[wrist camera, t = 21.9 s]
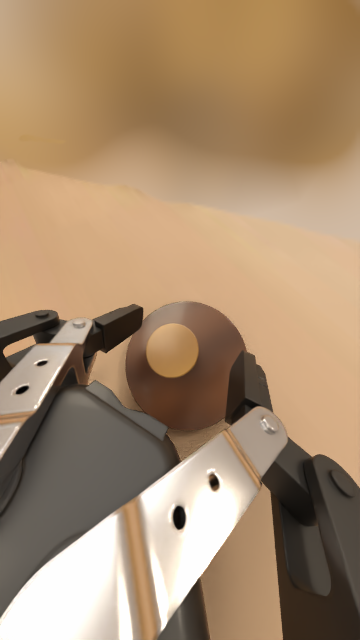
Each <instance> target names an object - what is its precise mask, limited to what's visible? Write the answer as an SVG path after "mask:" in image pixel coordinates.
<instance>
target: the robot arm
mask: <svg viewBox="0 0 360 640" xmlns="http://www.w3.org/2000/svg"><path fill="white" fill-rule="evenodd" d="M142 320H143V308H142V307H140V306H138V305H135V304H132V305H130V306H128V307H124V308H119V309H116V310H114V311H112V312H109V313H107V314H104V315H102V316H100V317H97V318H95V319H93V320H91V319H88V318H75V319H71V320H69V321H65V320H61V319H59V316H58V313H57V312H56V311H52V310H40V311H35V312H31V313H28V314H24V315H21V316H17V317H14V318H10V319H7V320H3V321H0V640H210V636H209V629H208V623H207V617H206V610H205V604H204V598H203V592H202V585H201V579H200V575H201V574H202V572H203V571H204V569H205V568H206V566H207V565H208V564H209V562H210V561H211V559H212V558H213V556H214V555H215V554H216V552H217V551H218V549H219V548H220V546H221V545H222V544H223V542H224V541H225V539H226V538H227V537H228V535H229V534H230V532H231V531H232V529H233V528H234V527H235V525H236V524H237V522H238V521H239V519H240V518H241V517H242V515H243V514H244V512H245V511H246V509H247V508H248V507H249V505H250V504H251V502H252V501H253V499H254V498H255V497H256V495H257V494H258V492H259V491H260V489H261V486H262V483H261V481H262V482H263V484H264V485H265V486H266V487H267V488H268V489H269V490H270V491H271V503H272V514H273V526H274V538H275V549H276V561H277V573H278V585H279V596H280V608H281V620H282V631H283V640H360V488H359V487H358V486H357V484H356V483H355V482H354V480H353V479H352V478H351V477H350V475H349V474H348V473H347V472H346V471H345V470H344V469H343V468H342V467H341V466H340V465H338V464H337V463H336V462H335V461H333V460H332V459H330V458H329V457H327V456H324V455H320V454H319V455H315V456H313V457H311V456H310V455H309V454H308V453H307V452H305V451H304V450H303V449H302V448H301V447H299V446H298V445H297V444H296V443H295V442H293V441H292V440H291V439H290V438H289V437H288V435H287V432H286V429H285V427H284V425H283V424H282V422H281V421H280V419H279V418H278V417H277V416H276V415H275V414H274V413H273V409H272V405H271V400H270V395H269V390H268V385H267V382H266V376H265V373H264V371H263V370H262V368H261V366H259V365H257V364H256V360H255V355H253V354H250V353H248V352H246V351H243V350H242V351H241V352H240V354H239V356H238V357H237V359H236V360H235V362H234V364H233V365H232V367H231V370H230V374H229V384H228V394H227V404H226V415H225V422H227V423H228V424H230V425H231V426H230V427H229V428H228V429H224V430H223V431H221V432H220V433H219V434H217V435H216V436H215V437H213V438H212V439H211V440H210V441H208V442H207V443H206V444H204V445H203V446H202V447H200V448H199V449H198V450H196V451H195V452H194V453H193V454H191V455H190V456H189V457H187V458H186V459H185V460H183V461H182V462H181V461H180V458H179V455H178V453H177V450H176V448H175V446H174V445H173V443H172V441H171V440H170V438H169V437H168V436H167V435H166V433H167V430H168V428H169V427H168V426H166V425H164V424H163V423H161V422H160V421H158V420H157V419H155V418H154V417H152V416H150V415H149V414H146V413H142V412H139V411H135V410H132V409H128V408H125V407H124V406H123V405H122V404H121V402H120V401H119V400H118V398H117V397H116V396H115V395H114V393H113V392H112V391H111V390H110V389H109V388H107V387H105V386H104V385H102V384H101V383H99V382H98V381H96V380H95V381H93V382H92V383H91V384H90V385H88V379H89V376H90V373H91V370H92V367H93V364H94V362H95V359H96V356H97V351H99V350H101V351H103V352H104V353H107V352H108V351H110V350H111V349H113V348H114V347H115V346H117V345H118V344H120V343H121V342H123V341H124V340H125V339H127V338H128V337H130V336H131V335H132V334H134V333H135V332H137V331H138V330H139V329H140V328H141V326H142ZM32 335H33V337H34V339H35V341H36V344H35V345H33V346H30V347H28V348H26V349H24V350H22V351H19V352H17V353H15V354H13V355H11V356H8V357H5V356H4V354H3V350H4V348H5V347H6V346H8V345H9V344H12V343H14V342H17V341H19V340H22V339H24V338H27V337H29V336H32ZM260 480H261V481H260Z"/></svg>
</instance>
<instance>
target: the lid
mask: <svg viewBox="0 0 360 640" xmlns="http://www.w3.org/2000/svg"><path fill="white" fill-rule="evenodd" d="M242 350H243V351H246V347H245V344H244V341H243V339H242V337H241V335H240V333H239V332H238V330H237V328H236V327H235V326H234V324H233V323H232V322H231V321H230V320H229V319H228V318H227V317H226V316H225V315H223V314H222V313H221V312H219V311H218V310H216V309H214V308H212V307H210V306H208V305H205V304H201V303H197V302H187V301H186V302H176V303H171V304H168V305H165V306H163V307H161V308H159V309H157V310H155V311H154V312H152V313H151V314H150V315H148V316H147V317H146V318H145V319H144V320H143V321H142V326H141V328H140V329H139V330H138V331H137V332H135V333H134V334H133V336H132V338H131V340H130V343H129V346H128V350H127V355H126V376H127V381H128V385H129V388H130V390H131V393H132V395H133V397H134V399H135V400H136V402H137V403H138V405H139V406H140V407H141V409H142V410H143V411H144V412H145V413H146V414H149V415H150V416H152V417H154V418H155V419H157V420H158V421H160V422H161V423H163V424H164V425H166V426H168V427H170V428H173V429H178V430H198V429H202V428H205V427H209V426H211V425H213V424H215V423H217V422H219V421H220V420H222V419H223V418H224V417H225V415H226V404H227V394H228V384H229V374H230V370H231V367H232V365H233V364H234V362H235V360H236V359H237V357H238V356H239V354H240V352H241V351H242ZM246 352H247V351H246Z"/></svg>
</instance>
